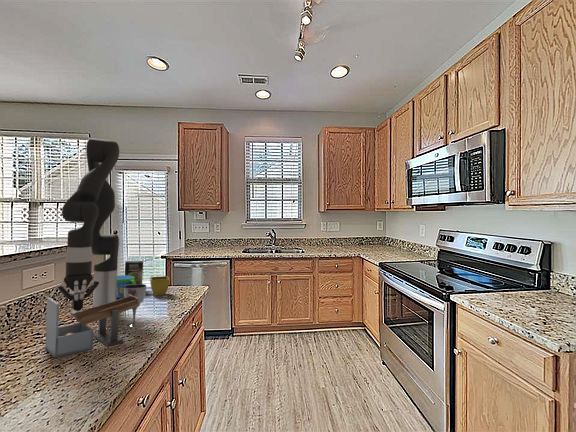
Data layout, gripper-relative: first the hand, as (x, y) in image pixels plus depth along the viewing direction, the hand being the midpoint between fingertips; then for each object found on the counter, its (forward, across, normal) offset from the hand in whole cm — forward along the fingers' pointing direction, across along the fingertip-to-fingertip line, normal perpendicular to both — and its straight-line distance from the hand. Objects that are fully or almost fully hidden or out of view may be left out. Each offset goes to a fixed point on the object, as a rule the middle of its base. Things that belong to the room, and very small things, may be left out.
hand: (77, 310), depth 115 cm
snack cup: (+10, -34, -45) cm, 57 cm away
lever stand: (+10, -7, +8) cm, 14 cm away
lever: (0, -7, +4) cm, 8 cm away
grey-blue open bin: (+10, +4, +8) cm, 13 cm away
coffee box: (+10, -44, -55) cm, 71 cm away
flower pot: (+10, -50, -38) cm, 64 cm away
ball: (+7, +4, +8) cm, 11 cm away
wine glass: (+10, -20, -1) cm, 22 cm away
